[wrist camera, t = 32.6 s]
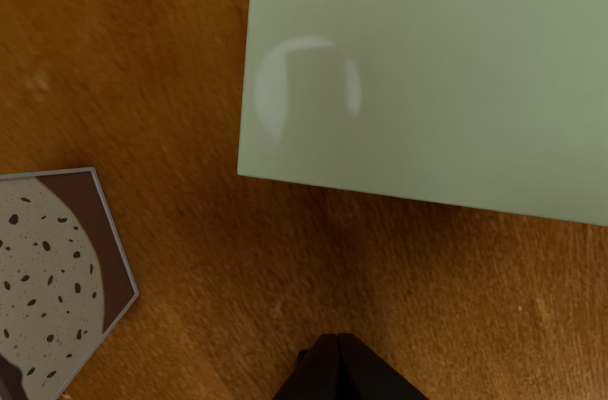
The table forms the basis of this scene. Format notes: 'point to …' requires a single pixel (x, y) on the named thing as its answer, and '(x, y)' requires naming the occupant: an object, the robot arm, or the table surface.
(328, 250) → the table surface
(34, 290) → the food container
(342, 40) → the lid
